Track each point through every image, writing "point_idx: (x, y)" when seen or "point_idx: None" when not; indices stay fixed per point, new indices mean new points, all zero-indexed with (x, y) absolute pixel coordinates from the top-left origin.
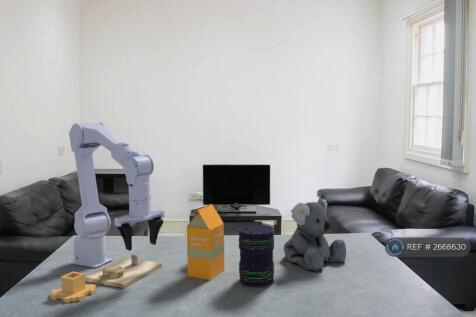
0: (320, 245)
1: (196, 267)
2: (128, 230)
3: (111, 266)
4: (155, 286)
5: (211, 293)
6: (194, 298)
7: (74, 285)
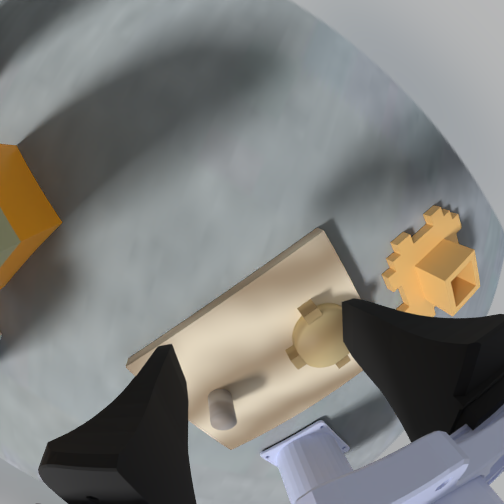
0: None
1: (21, 195)
2: (483, 323)
3: (293, 404)
4: (208, 182)
5: (73, 34)
6: (137, 17)
7: (457, 247)
